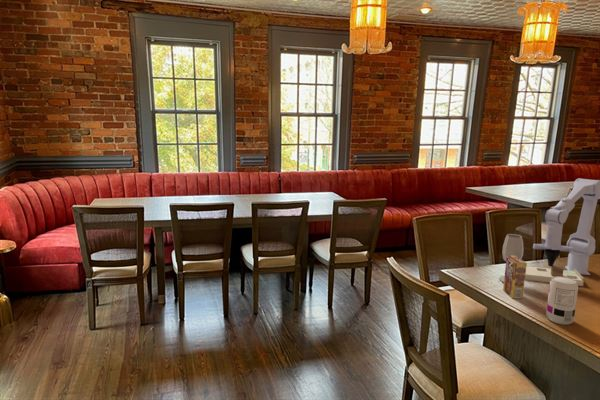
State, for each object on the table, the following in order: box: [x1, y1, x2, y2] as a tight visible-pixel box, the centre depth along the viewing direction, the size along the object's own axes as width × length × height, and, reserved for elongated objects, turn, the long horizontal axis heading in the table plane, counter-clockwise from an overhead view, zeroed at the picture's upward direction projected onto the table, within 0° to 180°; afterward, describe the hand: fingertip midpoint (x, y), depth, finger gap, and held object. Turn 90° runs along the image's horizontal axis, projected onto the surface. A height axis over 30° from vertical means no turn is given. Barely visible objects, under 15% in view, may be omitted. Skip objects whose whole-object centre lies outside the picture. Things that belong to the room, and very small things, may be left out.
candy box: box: [502, 256, 528, 300], centre depth 160 cm, size 9×4×15 cm, turn 176°
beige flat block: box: [525, 266, 585, 287], centre depth 178 cm, size 12×23×4 cm, turn 70°
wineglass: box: [498, 233, 525, 284], centre depth 173 cm, size 9×9×21 cm
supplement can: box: [545, 276, 579, 326], centre depth 138 cm, size 8×8×15 cm
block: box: [550, 264, 564, 277], centre depth 175 cm, size 4×4×4 cm
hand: (550, 265), depth 175 cm, fingers closed
